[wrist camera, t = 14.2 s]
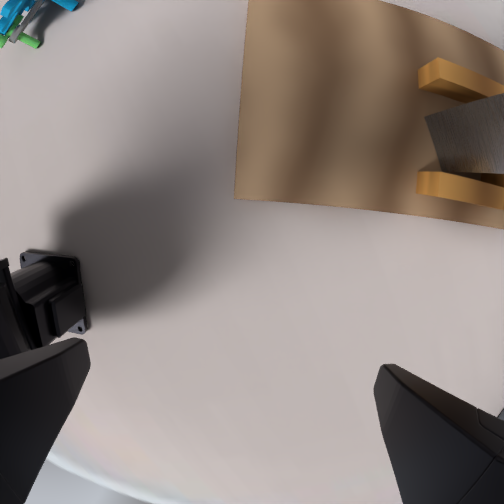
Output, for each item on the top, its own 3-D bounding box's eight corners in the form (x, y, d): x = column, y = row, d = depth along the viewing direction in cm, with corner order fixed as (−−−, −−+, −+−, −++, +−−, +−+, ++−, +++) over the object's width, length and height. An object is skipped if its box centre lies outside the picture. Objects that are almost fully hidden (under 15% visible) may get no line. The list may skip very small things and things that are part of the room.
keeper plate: (235, 197, 20) (229, 202, 16) (250, -11, 16) (248, -42, 13) (500, 227, 20) (531, 237, 16) (498, 54, 16) (524, 43, 12)
